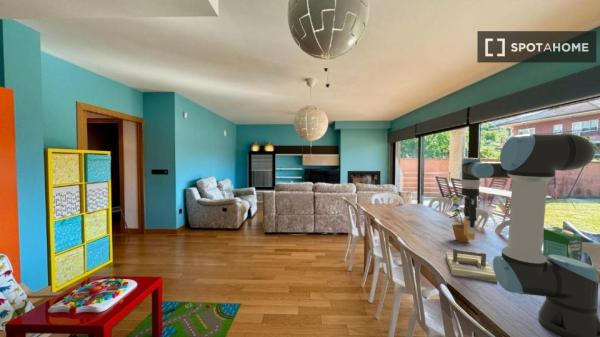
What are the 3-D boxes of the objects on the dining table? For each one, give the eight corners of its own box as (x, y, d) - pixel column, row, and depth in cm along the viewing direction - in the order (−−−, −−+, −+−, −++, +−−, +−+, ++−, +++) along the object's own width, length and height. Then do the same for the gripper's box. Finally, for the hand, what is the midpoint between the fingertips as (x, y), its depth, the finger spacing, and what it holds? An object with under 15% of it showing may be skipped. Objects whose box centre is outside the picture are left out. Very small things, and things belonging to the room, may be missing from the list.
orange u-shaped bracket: (474, 239, 126) (474, 221, 125) (467, 239, 127) (467, 221, 127) (470, 234, 134) (470, 218, 134) (463, 234, 135) (464, 217, 135)
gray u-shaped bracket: (485, 271, 127) (486, 254, 127) (453, 266, 133) (453, 249, 133) (484, 270, 129) (485, 252, 129) (452, 265, 135) (453, 248, 134)
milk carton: (566, 290, 109) (568, 233, 108) (542, 280, 118) (543, 227, 117) (580, 287, 111) (582, 231, 111) (555, 278, 120) (556, 226, 119)
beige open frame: (497, 282, 116) (497, 275, 116) (452, 275, 123) (452, 268, 123) (483, 262, 139) (483, 257, 139) (445, 257, 146) (446, 252, 146)
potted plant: (440, 238, 183) (441, 197, 182) (460, 236, 188) (461, 196, 187) (463, 246, 166) (464, 200, 165) (484, 243, 171) (485, 199, 170)
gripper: (484, 190, 118) (483, 237, 119) (474, 186, 138) (473, 226, 139) (465, 189, 121) (464, 235, 122) (458, 185, 141) (457, 225, 142)
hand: (469, 230), depth 130 cm, fingers closed on orange u-shaped bracket, 9 cm apart
